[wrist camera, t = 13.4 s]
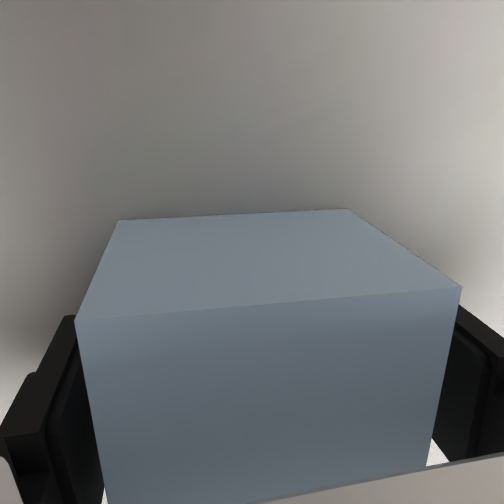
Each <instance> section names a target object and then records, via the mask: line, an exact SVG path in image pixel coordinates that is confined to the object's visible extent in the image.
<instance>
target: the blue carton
mask: <svg viewBox="0 0 504 504" xmlns="http://www.w3.org/2000/svg"><path fill="white" fill-rule="evenodd" d="M461 290H462V286H460V285H459V284H457V283H456V282H454V281H453V280H451V279H450V278H449V277H447V276H446V275H444V274H443V273H441V272H440V271H438V270H437V269H435V268H434V267H432V266H431V265H429V264H428V263H427V262H425V261H424V260H422V259H421V258H419V257H418V256H416V255H415V254H413V253H412V252H410V251H409V250H407V249H406V248H404V247H403V246H402V245H400V244H399V243H397V242H396V241H394V240H393V239H391V238H390V237H388V236H387V235H385V234H384V233H382V232H381V231H380V230H378V229H377V228H375V227H374V226H372V225H371V224H369V223H368V222H366V221H365V220H363V219H362V218H360V217H359V216H358V215H356V214H355V213H353V212H352V211H350V210H349V209H327V210H308V211H289V212H269V213H250V214H230V215H211V216H191V217H172V218H152V219H133V220H118V221H117V224H116V226H115V228H114V231H113V233H112V235H111V238H110V240H109V242H108V244H107V247H106V249H105V251H104V254H103V256H102V258H101V260H100V263H99V265H98V267H97V270H96V272H95V274H94V276H93V279H92V281H91V283H90V286H89V288H88V290H87V292H86V295H85V297H84V299H83V302H82V304H81V306H80V308H79V311H78V313H77V315H76V318H75V320H74V323H75V329H76V334H77V339H78V345H79V350H80V356H81V361H82V366H83V372H84V377H85V383H86V388H87V393H88V399H89V404H90V410H91V415H92V420H93V426H94V431H95V437H96V442H97V447H98V453H99V458H100V464H101V469H102V475H103V480H104V485H105V491H106V496H107V502H108V504H239V503H244V502H249V501H254V500H259V499H264V498H269V497H274V496H279V495H284V494H289V493H294V492H299V491H304V490H309V489H314V488H319V487H324V486H329V485H334V484H339V483H345V482H350V481H355V480H360V479H365V478H370V477H375V476H380V475H385V474H390V473H396V472H401V471H406V470H411V469H416V468H421V467H426V463H427V458H428V453H429V448H430V443H431V438H432V433H433V428H434V423H435V418H436V413H437V408H438V403H439V398H440V393H441V388H442V383H443V379H444V374H445V369H446V364H447V359H448V354H449V349H450V344H451V339H452V334H453V329H454V324H455V319H456V314H457V309H458V304H459V299H460V294H461Z"/></svg>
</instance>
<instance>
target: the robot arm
mask: <svg viewBox="0 0 504 504" xmlns="http://www.w3.org/2000/svg"><path fill="white" fill-rule="evenodd" d="M76 315H77V314H76ZM76 315H68V316H64V317H63V319H62V321H61V323H60V325H59V327H58V329H57V331H56V333H55V335H54V337H53V339H52V341H51V343H50V345H49V347H48V349H47V351H46V353H45V355H44V357H43V359H42V361H41V363H40V365H39V367H38V369H37V371H36V372H32V373H29V374H28V375H27V377H26V378H25V380H24V382H23V384H22V386H21V387H20V389H19V391H18V393H17V395H16V397H15V399H14V401H13V403H12V405H11V406H10V408H9V410H8V412H7V414H6V416H5V418H4V420H3V422H2V424H1V425H0V504H101V503H102V497H103V492H104V486H105V485H104V480H103V475H102V469H101V464H100V458H99V453H98V447H97V442H96V437H95V431H94V426H93V420H92V415H91V410H90V404H89V399H88V393H87V388H86V383H85V377H84V372H83V366H82V361H81V356H80V350H79V345H78V339H77V334H76V329H75V323H74V320H75V318H76ZM432 439H433V440H434V441H435V443H436V444H437V445H438V447H439V448H440V449H441V451H442V452H443V454H444V455H445V456H446V458H447V459H448V460H449V462H448V463H442V464H437V465H432V466H427V467H421V468H416V469H411V470H406V471H401V472H396V473H390V474H385V475H380V476H375V477H370V478H365V479H360V480H355V481H350V482H345V483H339V484H334V485H329V486H324V487H319V488H314V489H309V490H304V491H299V492H294V493H289V494H284V495H279V496H274V497H269V498H264V499H259V500H254V501H249V502H244V503H239V504H504V338H503V337H502V336H500V335H499V334H498V333H496V332H495V331H494V330H492V329H491V328H490V327H488V326H487V325H486V324H484V323H483V322H482V321H480V320H479V319H478V318H476V317H475V316H474V315H472V314H471V313H470V312H468V311H467V310H466V309H464V308H463V307H462V306H460V305H459V304H458V309H457V314H456V319H455V324H454V329H453V334H452V339H451V344H450V349H449V354H448V359H447V364H446V369H445V374H444V379H443V383H442V388H441V393H440V398H439V403H438V408H437V413H436V418H435V423H434V428H433V433H432Z"/></svg>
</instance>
